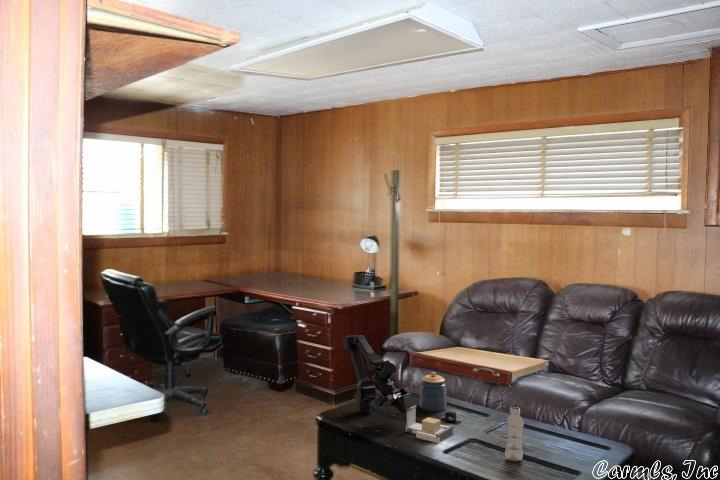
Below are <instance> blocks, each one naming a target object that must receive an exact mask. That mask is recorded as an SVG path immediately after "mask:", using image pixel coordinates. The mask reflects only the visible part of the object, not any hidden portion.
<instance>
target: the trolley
mask: <svg viewBox="0 0 720 480" xmlns="http://www.w3.org/2000/svg"><path fill="white" fill-rule="evenodd" d="M416 410H417V405H416V404H414V405H412V406H410V407H408V408H406V425H405V432H407V433H409V434H415V435H416V432H417V431H419V432H423V433H427V434H431V435H435V436H436V434H438V433H440V432H442V431H443V430H445V429H443V428H442V429H440V425H441V422H442V421H441V420H440V419H437V418H434V417H429V416H428V417H426V418H424V419H422V420H421V422H416V420H417V419H416V415H417V414H416V413H417V411H416Z"/></svg>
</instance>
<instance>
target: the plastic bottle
mask: <svg viewBox="0 0 720 480" xmlns="http://www.w3.org/2000/svg"><path fill="white" fill-rule="evenodd" d="M505 422H506V424H505V425H506V446H505V452H504V454H505V458H506V459H507V460H508V461H512V462H519V461H522V460H523V456H524V451H523V443H522V442H523V440H522V439H523V429H524V426H525V425H524V423H525V422H524V419H523V418H522V417H521V408H520V407H517V406H516V407H515V406H512V407H510V408H509V415H508V416H507V419H506V421H505Z"/></svg>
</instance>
